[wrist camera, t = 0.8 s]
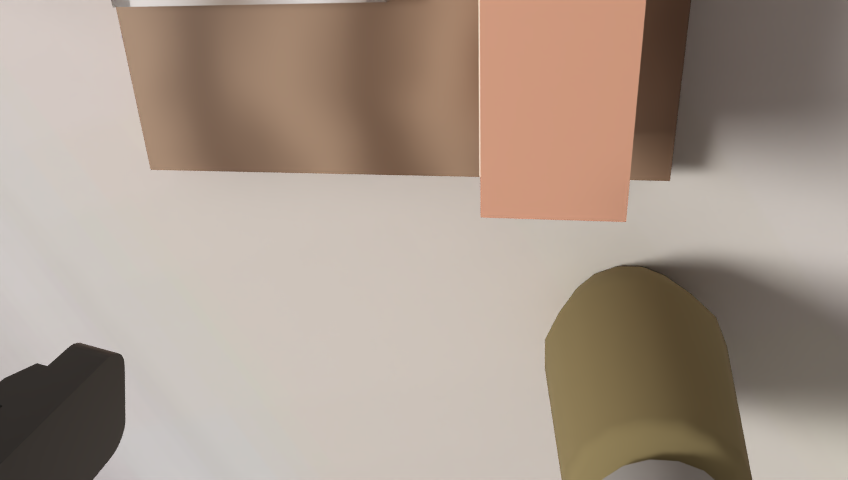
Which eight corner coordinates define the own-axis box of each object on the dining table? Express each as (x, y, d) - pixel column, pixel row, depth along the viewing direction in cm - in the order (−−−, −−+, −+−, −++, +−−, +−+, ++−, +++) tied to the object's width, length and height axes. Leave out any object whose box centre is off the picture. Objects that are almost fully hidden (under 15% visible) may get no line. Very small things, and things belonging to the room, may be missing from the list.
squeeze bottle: (530, 257, 35) (510, 557, 19) (701, 229, 33) (837, 539, 17) (559, 389, 38) (563, 741, 22) (718, 371, 36) (847, 745, 20)
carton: (622, -73, 27) (651, -59, 19) (607, 134, 30) (625, 221, 22) (498, -68, 27) (474, -53, 19) (496, 133, 31) (476, 217, 23)
